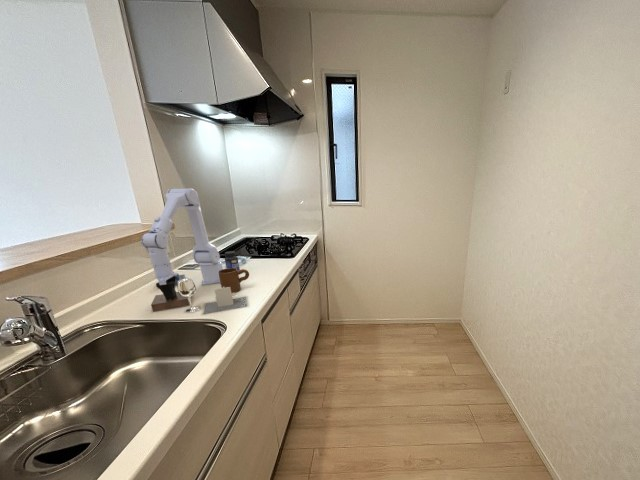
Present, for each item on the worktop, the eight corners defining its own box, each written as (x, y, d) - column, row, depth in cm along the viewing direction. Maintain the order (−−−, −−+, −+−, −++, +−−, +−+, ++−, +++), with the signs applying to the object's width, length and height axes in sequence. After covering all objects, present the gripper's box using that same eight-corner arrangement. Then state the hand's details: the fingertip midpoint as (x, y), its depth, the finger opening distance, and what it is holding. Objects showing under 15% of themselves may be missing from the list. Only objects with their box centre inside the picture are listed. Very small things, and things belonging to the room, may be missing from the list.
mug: (252, 285, 145) (248, 266, 142) (251, 290, 138) (247, 270, 135) (223, 289, 141) (219, 269, 138) (221, 294, 134) (216, 274, 131)
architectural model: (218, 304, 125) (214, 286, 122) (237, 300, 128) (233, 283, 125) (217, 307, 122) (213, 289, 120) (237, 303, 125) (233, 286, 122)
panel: (191, 296, 133) (189, 289, 132) (189, 305, 124) (187, 298, 123) (157, 302, 128) (155, 294, 127) (153, 311, 119) (150, 304, 118)
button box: (185, 278, 156) (183, 270, 155) (184, 284, 148) (181, 276, 146) (161, 281, 152) (159, 274, 150) (158, 288, 143) (156, 280, 142)
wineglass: (188, 307, 123) (180, 278, 118) (203, 306, 123) (196, 277, 119) (180, 313, 117) (172, 283, 113) (196, 312, 118) (188, 282, 113)
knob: (166, 296, 126) (163, 287, 124) (177, 294, 127) (175, 285, 126) (164, 299, 123) (161, 290, 121) (176, 297, 124) (173, 288, 123)
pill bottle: (235, 274, 160) (231, 253, 156) (224, 274, 161) (220, 253, 157) (242, 271, 166) (238, 250, 162) (232, 270, 167) (228, 250, 163)
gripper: (171, 267, 116) (180, 300, 120) (176, 258, 128) (184, 289, 133) (148, 270, 113) (158, 304, 118) (155, 260, 125) (164, 291, 130)
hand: (171, 296), depth 125 cm, fingers open, 5 cm apart
